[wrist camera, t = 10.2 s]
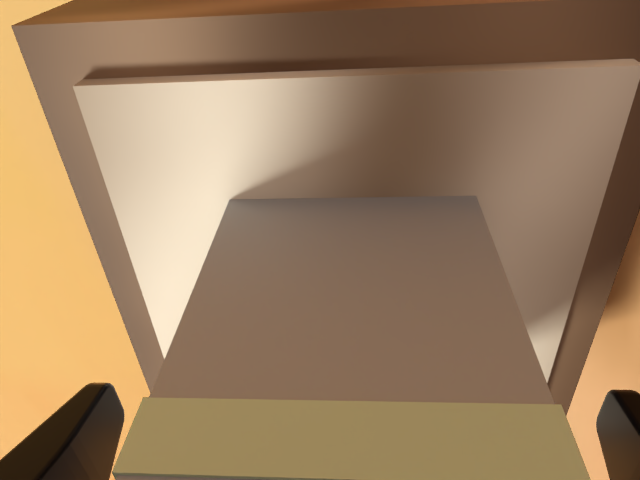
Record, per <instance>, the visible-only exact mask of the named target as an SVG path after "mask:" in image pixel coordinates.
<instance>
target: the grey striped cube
mask: <svg viewBox="0 0 640 480" xmlns="http://www.w3.org/2000/svg"><path fill="white" fill-rule="evenodd" d="M112 473H113V475H114V477H115V479H116V480H591V479H590V477H589V474H588V472H587V469H586V467H585V464H584V461H583V459H582V456H581V454H580V451H579V449H578V446H577V443H576V441H575V438H574V436H573V433H572V431H571V428H570V426H569V423H568V420H567V418H566V415H565V413H564V410H563V408H562V405H561V404H555V403H554V400H553V398H552V395H551V392H550V390H549V387H548V385H547V382H546V379H545V377H544V374H543V371H542V369H541V366H540V363H539V361H538V358H537V355H536V353H535V350H534V347H533V345H532V342H531V340H530V337H529V334H528V332H527V329H526V326H525V324H524V321H523V318H522V316H521V313H520V310H519V308H518V305H517V303H516V300H515V297H514V295H513V292H512V289H511V287H510V284H509V281H508V279H507V276H506V273H505V271H504V268H503V265H502V263H501V260H500V258H499V255H498V252H497V250H496V247H495V244H494V242H493V239H492V236H491V234H490V231H489V228H488V226H487V223H486V221H485V218H484V215H483V213H482V210H481V207H480V205H479V202H478V199H477V197H476V196H423V197H357V198H290V199H229V202H228V204H227V207H226V209H225V212H224V214H223V217H222V219H221V221H220V224H219V226H218V229H217V231H216V234H215V236H214V239H213V241H212V244H211V246H210V249H209V251H208V254H207V256H206V258H205V261H204V263H203V266H202V268H201V271H200V273H199V276H198V278H197V281H196V283H195V286H194V288H193V290H192V293H191V295H190V298H189V300H188V303H187V305H186V308H185V310H184V313H183V315H182V318H181V320H180V322H179V325H178V327H177V330H176V332H175V335H174V337H173V340H172V342H171V345H170V347H169V350H168V352H167V355H166V357H165V359H164V362H163V364H162V367H161V369H160V372H159V374H158V377H157V379H156V382H155V384H154V387H153V389H152V391H151V394H150V396H149V397H143V399H142V402H141V404H140V406H139V409H138V411H137V414H136V416H135V418H134V421H133V423H132V425H131V428H130V430H129V433H128V435H127V437H126V440H125V442H124V445H123V447H122V449H121V452H120V454H119V457H118V459H117V461H116V464H115V466H114V469H113V471H112Z"/></svg>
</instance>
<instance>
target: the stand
mask: <svg viewBox="0 0 640 480" xmlns="http://www.w3.org/2000/svg"><path fill="white" fill-rule="evenodd" d="M12 29H13V32H14V34H15V37H16V40H17V42H18V45H19V47H20V50H21V53H22V55H23V58H24V61H25V63H26V66H27V69H28V71H29V74H30V76H31V79H32V82H33V84H34V87H35V90H36V92H37V95H38V98H39V100H40V103H41V105H42V108H43V111H44V113H45V116H46V119H47V121H48V124H49V127H50V129H51V132H52V134H53V137H54V140H55V142H56V145H57V148H58V150H59V153H60V156H61V158H62V161H63V163H64V166H65V169H66V171H67V174H68V177H69V179H70V182H71V185H72V187H73V190H74V193H75V195H76V198H77V200H78V203H79V206H80V208H81V211H82V214H83V216H84V219H85V222H86V224H87V227H88V229H89V232H90V235H91V237H92V240H93V243H94V245H95V248H96V251H97V253H98V256H99V258H100V261H101V264H102V266H103V269H104V272H105V274H106V277H107V280H108V282H109V285H110V287H111V290H112V293H113V295H114V298H115V301H116V303H117V306H118V309H119V311H120V314H121V316H122V319H123V322H124V324H125V327H126V330H127V332H128V335H129V338H130V340H131V343H132V345H133V348H134V351H135V353H136V356H137V359H138V361H139V364H140V367H141V369H142V372H143V375H144V377H145V380H146V382H147V385H148V388H149V390H150V393H151V391H152V389H153V387H154V384H155V382H156V379H157V377H158V374H159V372H160V369H161V367H162V364H163V362H164V359H165V357H166V355H167V352H168V350H169V347H170V345H171V342H172V340H173V337H174V335H175V332H176V330H177V327H178V325H179V322H180V320H181V318H182V315H183V313H184V310H185V308H186V305H187V303H188V300H189V298H190V295H191V293H192V290H193V288H194V286H195V283H196V281H197V278H198V276H199V273H200V271H201V268H202V266H203V263H204V261H205V258H206V256H207V254H208V251H209V249H210V246H211V244H212V241H213V239H214V236H215V234H216V231H217V229H218V226H219V224H220V221H221V219H222V217H223V214H224V212H225V209H226V207H227V204H228V202H229V199H290V198H357V197H423V196H476V197H477V199H478V202H479V205H480V207H481V210H482V213H483V215H484V218H485V221H486V223H487V226H488V228H489V231H490V234H491V236H492V239H493V242H494V244H495V247H496V250H497V252H498V255H499V258H500V260H501V263H502V265H503V268H504V271H505V273H506V276H507V279H508V281H509V284H510V287H511V289H512V292H513V295H514V297H515V300H516V303H517V305H518V308H519V310H520V313H521V316H522V318H523V321H524V324H525V326H526V329H527V332H528V334H529V337H530V340H531V342H532V345H533V347H534V350H535V353H536V355H537V358H538V361H539V363H540V366H541V369H542V371H543V374H544V377H545V379H546V382H547V385H548V387H549V390H550V392H551V395H552V398H553V400H554V403H555V404H561V405H562V408H563V410H564V413H565V415H567V412H568V409H569V406H570V404H571V401H572V398H573V395H574V392H575V390H576V387H577V384H578V381H579V378H580V375H581V373H582V370H583V367H584V364H585V361H586V359H587V356H588V353H589V350H590V347H591V345H592V342H593V339H594V336H595V333H596V331H597V328H598V325H599V322H600V319H601V316H602V314H603V311H604V308H605V305H606V302H607V300H608V297H609V294H610V291H611V288H612V286H613V283H614V280H615V277H616V274H617V272H618V269H619V266H620V263H621V260H622V257H623V255H624V252H625V249H626V246H627V243H628V241H629V238H630V235H631V232H632V229H633V227H634V224H635V221H636V218H637V215H638V212H639V210H640V0H73V1H70V2H68V3H66V4H63V5H61V6H58V7H56V8H53V9H51V10H49V11H46V12H44V13H41V14H39V15H36V16H34V17H32V18H29V19H27V20H24V21H22V22H19V23H17V24H15V25H12Z"/></svg>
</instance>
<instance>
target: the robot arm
mask: <svg viewBox="0 0 640 480" xmlns="http://www.w3.org/2000/svg"><path fill="white" fill-rule="evenodd" d="M123 423H124V409H123V407H122V404H121V402H120V400H119V398H118V395H117V393H116V391H115V388H114V387H113V385H111V384H110V383H90V384H88V385H86V386H85V387H83V388H82V389H81V390H80V391H79V392H78V393H77V394H75V395H74V396H73V397H72V398H71V399H70V400H69V401H67V402H66V403H65V404H64V405H63V406H62V407H61V408H59V409H58V410H57V411H56V412H55V413H54V414H52V415H51V416H50V417H49V418H48V419H47V420H46V421H44V422H43V423H42V424H41V425H40V426H39V427H38V428H36V429H35V430H34V431H33V432H32V433H31V434H30V435H28V436H27V437H26V438H25V439H24V440H23V441H22V442H20V443H19V444H18V445H17V446H16V447H15V448H13V449H12V450H11V451H10V452H9V453H8V454H7V455H5V456H4V457H3V458H2V459H1V460H0V480H109V478H110V474H111V470H112V466H113V462H114V458H115V454H116V450H117V447H118V443H119V439H120V435H121V431H122V427H123ZM596 427H597V433H598V437H599V440H600V444H601V448H602V452H603V455H604V459H605V463H606V467H607V471H608V474H609V478H610V480H640V394H639V393H638V392H636V391H633V390H611V391H609V392H608V393H607V395H606V397H605V400H604V402H603V405H602V407H601V409H600V412H599V414H598V417H597V422H596Z"/></svg>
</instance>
